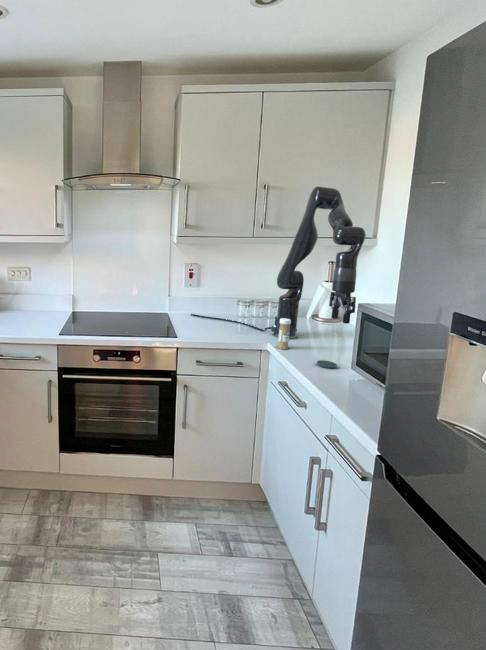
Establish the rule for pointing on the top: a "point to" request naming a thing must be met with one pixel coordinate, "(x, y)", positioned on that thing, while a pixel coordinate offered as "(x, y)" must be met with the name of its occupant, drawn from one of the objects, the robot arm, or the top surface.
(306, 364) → the top surface
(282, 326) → the sprinkles bottle
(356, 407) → the top surface
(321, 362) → the plate
